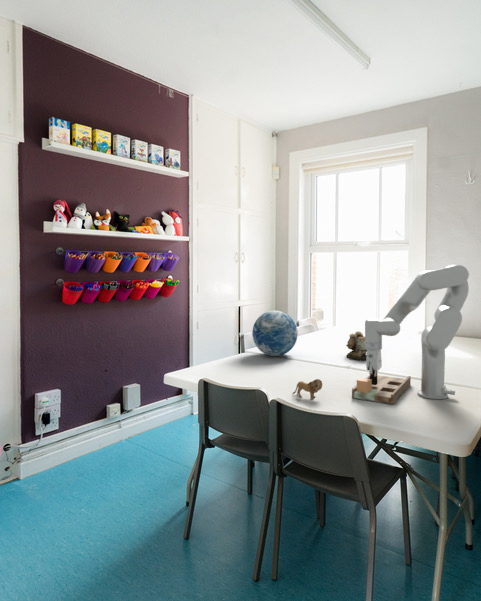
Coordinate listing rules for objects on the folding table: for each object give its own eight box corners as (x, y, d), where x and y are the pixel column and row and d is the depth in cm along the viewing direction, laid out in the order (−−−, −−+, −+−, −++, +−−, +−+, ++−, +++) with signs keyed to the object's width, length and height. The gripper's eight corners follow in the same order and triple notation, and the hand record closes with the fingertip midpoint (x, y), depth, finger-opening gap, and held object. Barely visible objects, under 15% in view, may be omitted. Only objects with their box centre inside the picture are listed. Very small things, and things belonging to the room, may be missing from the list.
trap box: (410, 385, 214) (410, 376, 214) (393, 404, 186) (393, 394, 185) (373, 380, 224) (373, 371, 224) (351, 398, 196) (352, 388, 195)
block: (371, 390, 197) (371, 379, 197) (367, 392, 193) (367, 381, 193) (360, 388, 200) (361, 377, 200) (356, 391, 196) (356, 380, 196)
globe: (306, 354, 288) (306, 309, 286) (278, 362, 267) (278, 314, 264) (272, 349, 309) (271, 307, 306) (243, 356, 287) (242, 311, 285)
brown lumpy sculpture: (340, 356, 282) (340, 330, 281) (353, 354, 288) (354, 329, 286) (361, 361, 266) (361, 334, 265) (374, 359, 272) (375, 332, 271)
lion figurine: (324, 397, 198) (324, 378, 197) (320, 401, 193) (319, 381, 192) (294, 393, 205) (294, 374, 204) (289, 396, 201) (289, 377, 200)
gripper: (377, 349, 194) (377, 389, 195) (385, 343, 206) (385, 381, 208) (360, 347, 198) (361, 387, 199) (369, 342, 210) (369, 379, 212)
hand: (373, 384), depth 203 cm, fingers closed
